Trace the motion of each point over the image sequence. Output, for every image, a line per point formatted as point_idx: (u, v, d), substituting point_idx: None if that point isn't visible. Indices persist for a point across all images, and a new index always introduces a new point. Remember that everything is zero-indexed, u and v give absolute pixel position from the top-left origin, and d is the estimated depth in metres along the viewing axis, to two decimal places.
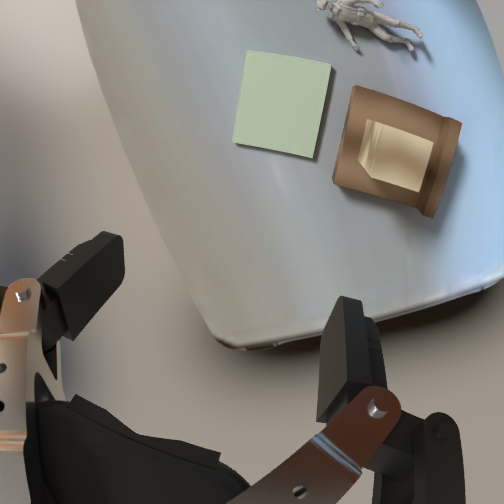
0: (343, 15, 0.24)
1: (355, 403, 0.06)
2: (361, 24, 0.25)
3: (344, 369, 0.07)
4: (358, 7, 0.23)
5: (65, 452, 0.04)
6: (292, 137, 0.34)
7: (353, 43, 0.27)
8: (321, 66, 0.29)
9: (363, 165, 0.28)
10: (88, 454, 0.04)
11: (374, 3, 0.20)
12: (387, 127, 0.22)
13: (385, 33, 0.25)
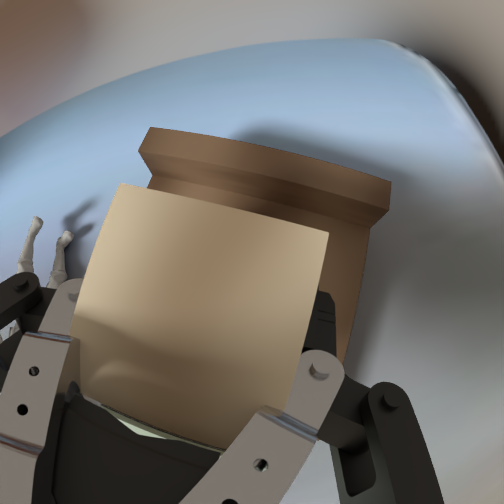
0: None
1: None
2: None
3: None
4: None
5: (65, 452, 0.04)
6: None
7: None
8: None
9: None
10: (88, 454, 0.04)
11: None
12: None
13: (47, 285, 0.16)
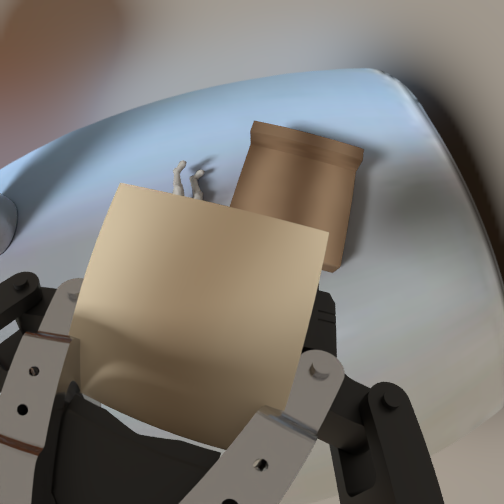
0: None
1: None
2: None
3: None
4: None
5: (65, 452, 0.04)
6: None
7: None
8: None
9: None
10: (88, 454, 0.04)
11: None
12: None
13: (194, 198, 0.32)
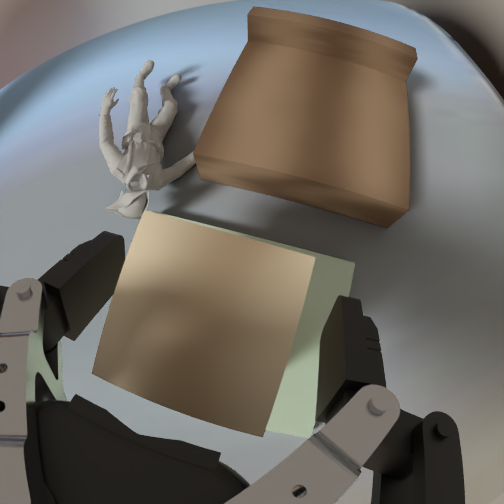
0: (149, 162, 0.16)
1: (354, 402, 0.06)
2: (159, 140, 0.17)
3: (342, 368, 0.07)
4: (124, 144, 0.16)
5: (65, 452, 0.04)
6: (311, 305, 0.15)
7: None
8: None
9: None
10: (88, 454, 0.04)
11: (109, 103, 0.14)
12: (98, 366, 0.07)
13: (163, 107, 0.18)
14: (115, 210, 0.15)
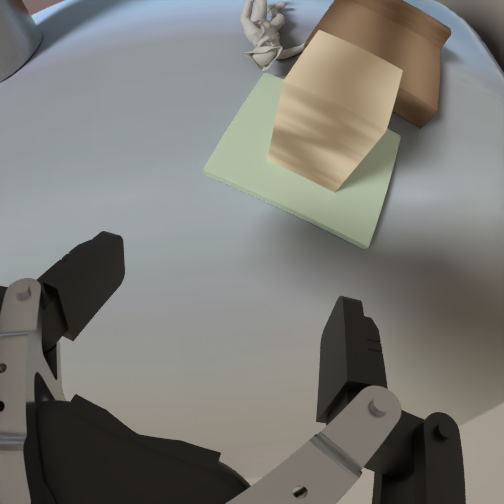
0: (274, 38, 0.19)
1: (355, 403, 0.06)
2: None
3: (344, 369, 0.07)
4: (256, 24, 0.19)
5: (65, 452, 0.04)
6: (372, 150, 0.20)
7: None
8: (265, 83, 0.21)
9: (351, 168, 0.16)
10: (88, 454, 0.04)
11: None
12: (289, 78, 0.12)
13: (276, 16, 0.21)
14: (249, 56, 0.19)
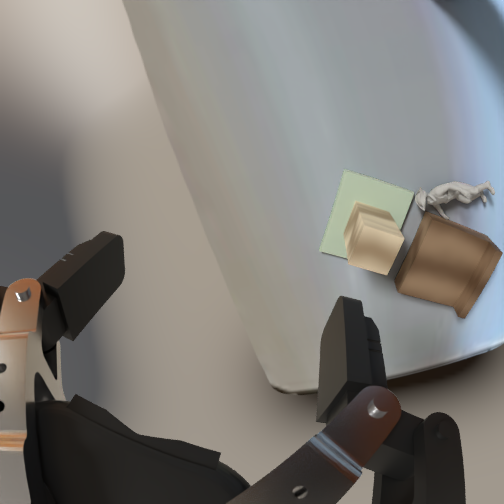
0: (438, 203, 0.33)
1: (355, 403, 0.06)
2: (449, 200, 0.33)
3: (344, 369, 0.07)
4: (448, 191, 0.31)
5: (65, 452, 0.04)
6: None
7: (444, 216, 0.35)
8: (405, 194, 0.35)
9: (346, 245, 0.36)
10: (88, 454, 0.04)
11: (464, 195, 0.29)
12: (366, 227, 0.30)
13: (467, 199, 0.32)
14: (419, 190, 0.33)
